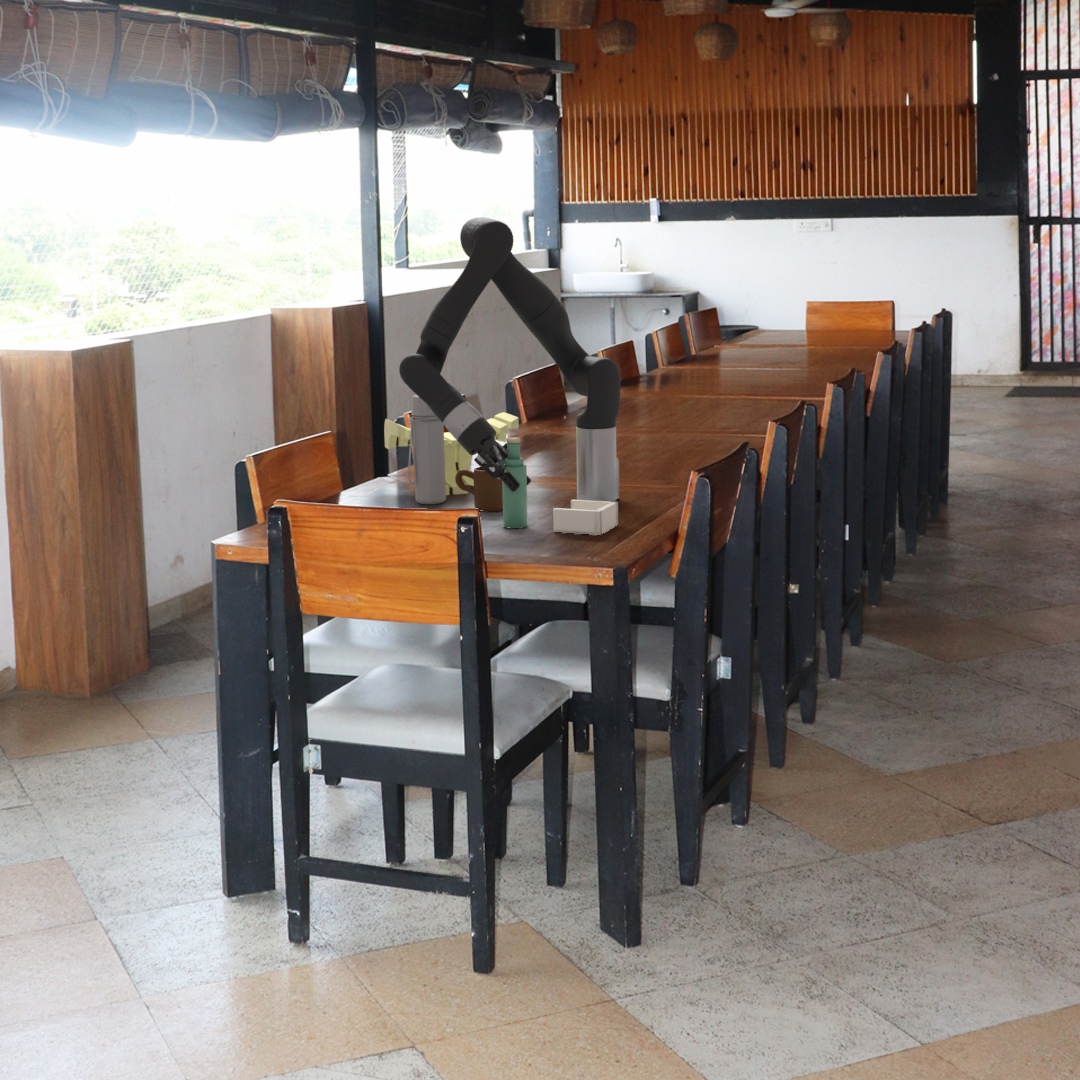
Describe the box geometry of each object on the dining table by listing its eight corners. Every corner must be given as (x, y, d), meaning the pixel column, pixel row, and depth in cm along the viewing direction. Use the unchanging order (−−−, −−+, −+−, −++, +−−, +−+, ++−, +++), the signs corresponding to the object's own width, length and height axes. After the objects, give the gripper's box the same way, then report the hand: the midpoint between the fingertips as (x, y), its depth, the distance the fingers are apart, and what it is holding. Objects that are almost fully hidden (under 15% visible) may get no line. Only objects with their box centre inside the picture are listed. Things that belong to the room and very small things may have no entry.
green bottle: (514, 522, 292) (513, 436, 288) (532, 525, 289) (531, 438, 285) (498, 526, 288) (495, 438, 284) (515, 529, 285) (514, 440, 281)
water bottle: (436, 498, 324) (432, 393, 319) (452, 502, 317) (449, 395, 312) (402, 502, 319) (397, 396, 314) (417, 507, 312) (413, 398, 307)
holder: (553, 532, 282) (553, 509, 280) (573, 522, 292) (572, 499, 291) (599, 535, 278) (599, 511, 277) (618, 525, 288) (617, 501, 287)
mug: (452, 511, 306) (450, 470, 305) (460, 505, 314) (459, 465, 312) (503, 512, 304) (502, 471, 302) (511, 506, 311) (510, 466, 310)
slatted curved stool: (501, 479, 348) (500, 410, 344) (520, 489, 333) (518, 417, 330) (386, 488, 339) (383, 417, 336) (399, 498, 324) (397, 424, 321)
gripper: (465, 420, 280) (520, 480, 278) (494, 412, 293) (546, 469, 291) (443, 444, 283) (497, 504, 281) (472, 435, 296) (524, 492, 294)
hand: (522, 486), depth 286 cm, fingers closed on green bottle, 5 cm apart
